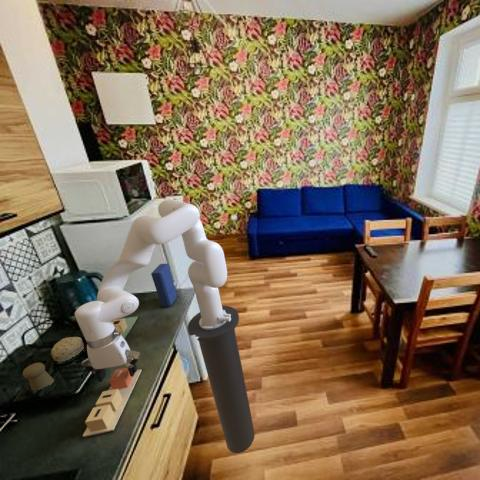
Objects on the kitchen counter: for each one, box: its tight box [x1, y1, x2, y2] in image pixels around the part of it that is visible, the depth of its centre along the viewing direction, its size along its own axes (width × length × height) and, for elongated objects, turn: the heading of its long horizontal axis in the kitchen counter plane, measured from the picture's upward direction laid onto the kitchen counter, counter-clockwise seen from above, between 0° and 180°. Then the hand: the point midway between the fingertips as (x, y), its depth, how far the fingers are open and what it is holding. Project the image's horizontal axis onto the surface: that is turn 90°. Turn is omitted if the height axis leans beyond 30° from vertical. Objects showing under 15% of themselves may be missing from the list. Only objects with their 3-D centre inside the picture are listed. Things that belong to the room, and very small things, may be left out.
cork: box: [22, 362, 55, 391], centre depth 91 cm, size 6×6×11 cm
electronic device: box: [150, 263, 179, 308], centre depth 135 cm, size 10×5×20 cm, turn 6°
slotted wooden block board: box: [82, 369, 143, 438], centre depth 88 cm, size 22×8×5 cm, turn 12°
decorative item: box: [50, 336, 85, 362], centre depth 105 cm, size 10×10×10 cm
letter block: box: [109, 367, 133, 390], centre depth 93 cm, size 4×4×5 cm
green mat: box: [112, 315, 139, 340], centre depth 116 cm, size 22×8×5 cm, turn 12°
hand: (118, 375), depth 92 cm, fingers open, 9 cm apart
